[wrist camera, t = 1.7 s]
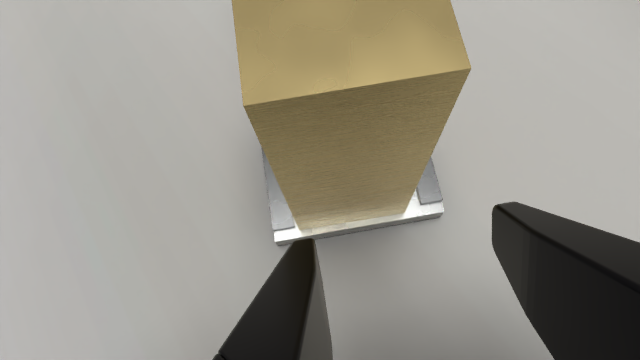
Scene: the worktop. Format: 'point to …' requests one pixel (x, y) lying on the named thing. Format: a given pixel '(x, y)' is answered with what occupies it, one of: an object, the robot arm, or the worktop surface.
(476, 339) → the worktop surface
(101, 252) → the worktop surface
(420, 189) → the silver flat plate
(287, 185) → the brass block
